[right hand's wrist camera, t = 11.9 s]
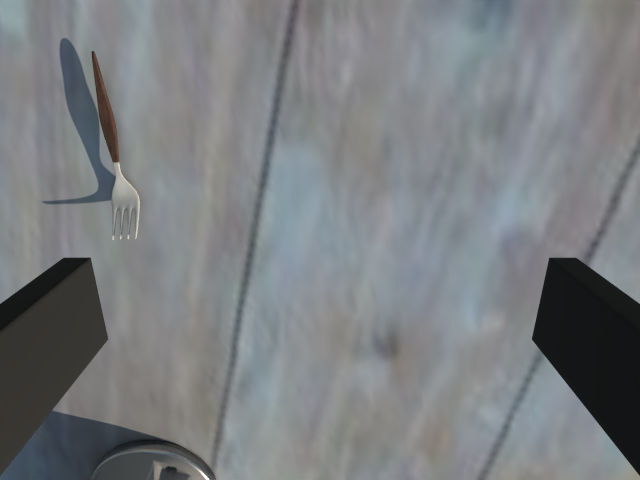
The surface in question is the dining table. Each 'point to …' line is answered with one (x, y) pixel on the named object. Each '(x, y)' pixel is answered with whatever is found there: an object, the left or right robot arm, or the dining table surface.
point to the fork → (115, 158)
